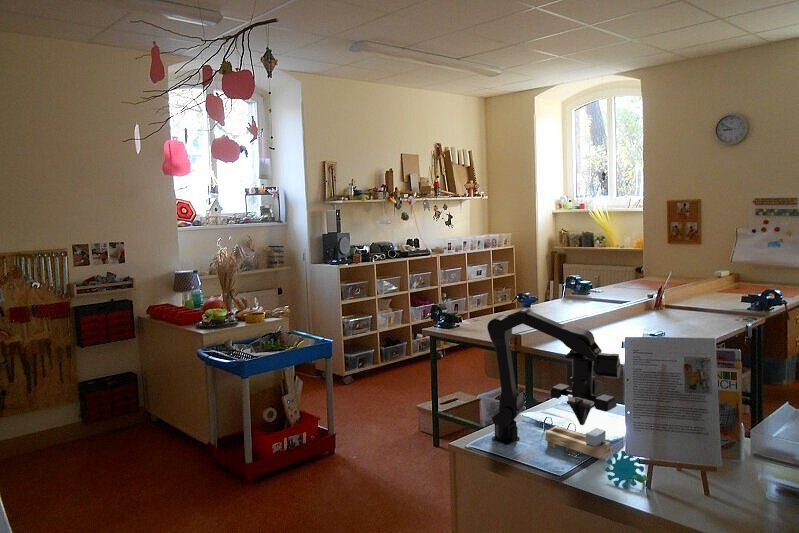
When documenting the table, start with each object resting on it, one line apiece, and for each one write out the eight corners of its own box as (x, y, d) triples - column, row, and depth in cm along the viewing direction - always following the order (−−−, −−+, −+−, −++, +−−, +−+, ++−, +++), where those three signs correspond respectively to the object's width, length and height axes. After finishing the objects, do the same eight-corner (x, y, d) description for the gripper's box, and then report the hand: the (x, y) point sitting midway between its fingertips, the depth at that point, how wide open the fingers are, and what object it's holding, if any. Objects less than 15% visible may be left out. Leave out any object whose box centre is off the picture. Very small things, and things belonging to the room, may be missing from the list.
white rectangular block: (585, 448, 174) (585, 433, 174) (595, 442, 178) (596, 427, 177) (595, 451, 172) (595, 436, 171) (605, 445, 176) (605, 430, 175)
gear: (597, 474, 163) (615, 443, 165) (604, 483, 166) (622, 452, 169) (635, 495, 154) (653, 462, 157) (641, 503, 158) (659, 471, 161)
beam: (545, 446, 184) (544, 431, 184) (556, 440, 189) (556, 425, 188) (599, 465, 171) (599, 449, 171) (610, 457, 176) (610, 441, 175)
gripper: (626, 373, 174) (625, 425, 176) (569, 361, 187) (569, 409, 190) (606, 383, 166) (606, 437, 169) (548, 369, 180) (549, 419, 182)
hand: (582, 424), depth 177 cm, fingers closed
